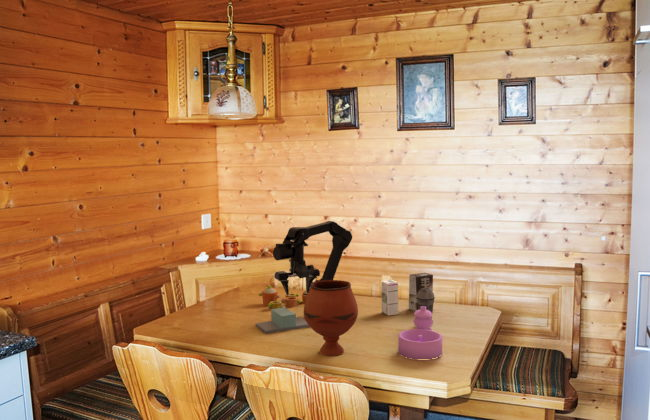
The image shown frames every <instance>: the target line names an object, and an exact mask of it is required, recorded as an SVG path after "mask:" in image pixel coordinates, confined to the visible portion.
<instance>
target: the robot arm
mask: <svg viewBox="0 0 650 420" xmlns="http://www.w3.org/2000/svg"><path fill="white" fill-rule="evenodd" d="M324 233H328V234H329V235H330V236H332V239H331V242H332V243H331V244H332V248H331V252H330V254H329V257H328V260H327V263H326V266H325V267H324V271H323V274H322V277H321V278H320V279H318V277H320V276H321V272H320V270H319V268H316V267H315V266H314V265H313V264H308V265H307V264H306V260H305V248H304V247H308V246H309V244H308V243H307V242H306V241H307V240H309V238H310V237H313V236H316V235H320V234H324ZM352 239H353V234H352V232H351V231H350V230H347V229H346V228H345V227H343V226H341V225H339V224H338V223H337V222H336V221H334V220H327V221H325V222H321V223H317V224H313V225H309V226H294V227H293V226H292V227H290V228H289V229H288V231H287V234H286V236H285V237H284V240H282V243H280V242H279V243H275V246H274V248H273V249H272V250H273V251H272V256H273V259H274V260H276V261H283V260H288V262H289V265H290V268H289V271H288V272H287V271H284V270H281V271H280V270H279V271H275V272H274V276H273V277H274V279H275V280H277V281H278V282H280V283H281V285H282V288H283V290H284V292H285V294H286V295H287V296H288V295H289V293H290V292H289V291H290V289H289V281H290V280H288V279H289V278H292V277H293V278H294V277H298V278H299V279H304V278H305V291H307V293H309V290H310V287H311V286H310V285H311V283H312V282H314V280H315V281H322V280H335V279H334V278H335V276H336V273H337V271H338V267H339V264H340V262H341V259H342V256H343V253H344V251H345V250H346V249H347V248H348V247H349V246H350V244H351V242H352Z"/></svg>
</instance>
